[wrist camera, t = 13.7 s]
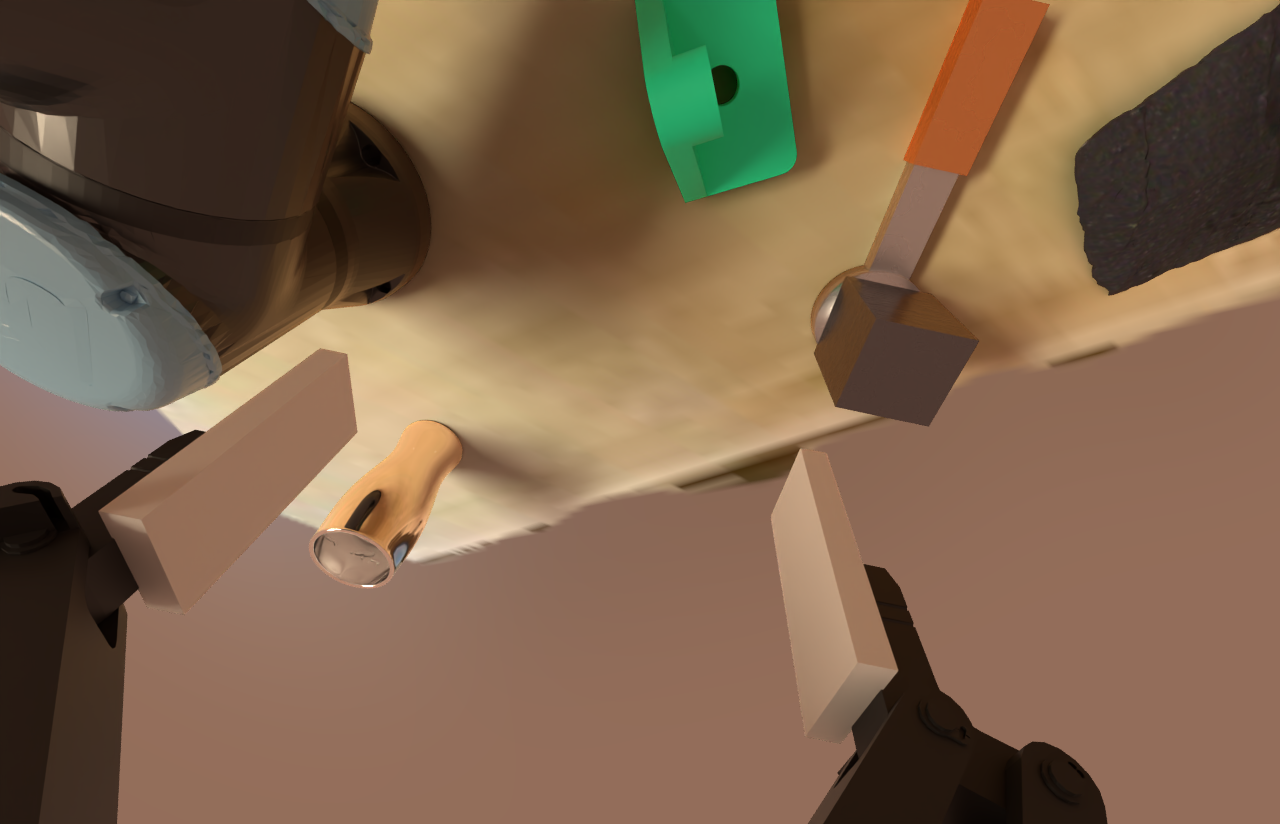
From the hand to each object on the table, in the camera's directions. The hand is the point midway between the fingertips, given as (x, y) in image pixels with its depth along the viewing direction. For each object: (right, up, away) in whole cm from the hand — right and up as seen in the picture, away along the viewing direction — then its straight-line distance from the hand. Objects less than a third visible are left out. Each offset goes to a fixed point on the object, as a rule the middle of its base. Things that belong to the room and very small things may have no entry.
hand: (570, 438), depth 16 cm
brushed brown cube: (+19, +7, +25) cm, 32 cm away
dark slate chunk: (+41, +19, +18) cm, 49 cm away
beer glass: (-19, -2, +38) cm, 42 cm away
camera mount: (+7, +22, +20) cm, 31 cm away
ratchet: (+21, +15, +22) cm, 34 cm away
